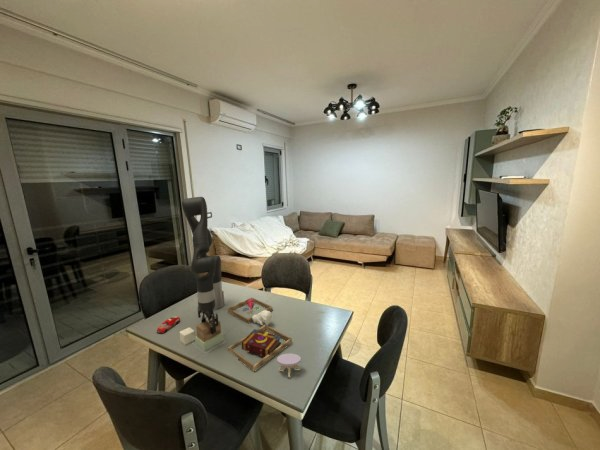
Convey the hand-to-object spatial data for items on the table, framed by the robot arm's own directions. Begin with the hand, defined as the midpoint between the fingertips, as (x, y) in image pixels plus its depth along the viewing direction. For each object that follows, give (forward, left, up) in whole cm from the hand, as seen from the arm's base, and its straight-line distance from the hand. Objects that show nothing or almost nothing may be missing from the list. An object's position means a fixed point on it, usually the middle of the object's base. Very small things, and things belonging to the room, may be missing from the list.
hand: (208, 329), depth 117 cm
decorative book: (-14, +21, -8) cm, 26 cm away
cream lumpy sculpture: (-27, +7, -8) cm, 29 cm away
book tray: (-14, +21, -8) cm, 26 cm away
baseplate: (0, 0, -8) cm, 8 cm away
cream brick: (+6, -10, -8) cm, 14 cm away
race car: (+6, -31, -8) cm, 33 cm away
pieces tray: (-32, -9, -8) cm, 34 cm away
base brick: (0, 0, -7) cm, 7 cm away
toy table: (-12, +41, -8) cm, 43 cm away
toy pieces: (-34, -11, -8) cm, 37 cm away
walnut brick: (0, 0, -3) cm, 3 cm away
